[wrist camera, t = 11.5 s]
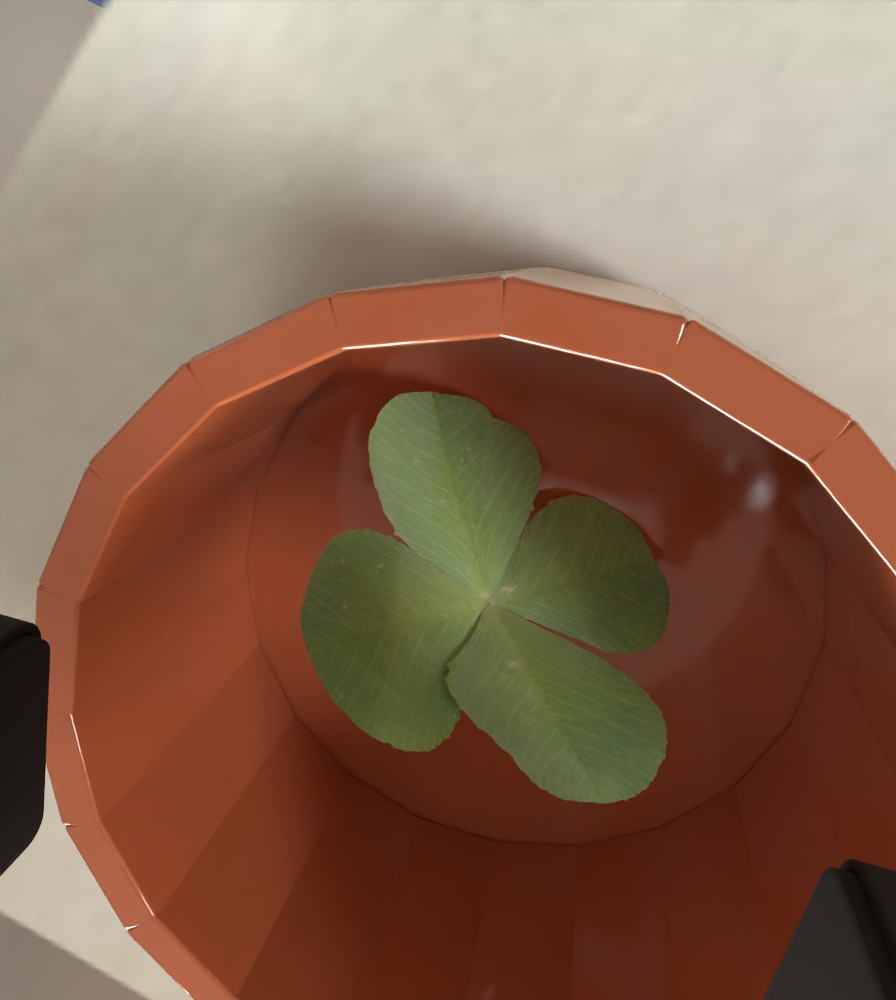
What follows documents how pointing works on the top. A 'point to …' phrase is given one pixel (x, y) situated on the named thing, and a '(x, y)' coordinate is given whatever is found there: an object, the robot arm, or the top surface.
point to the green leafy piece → (490, 607)
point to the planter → (469, 750)
